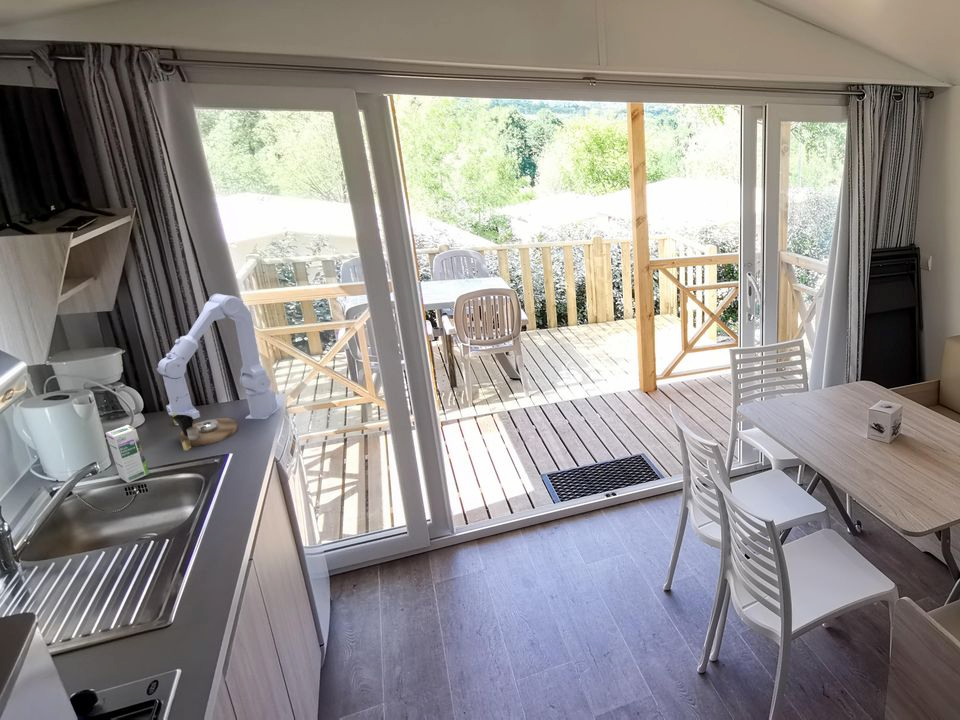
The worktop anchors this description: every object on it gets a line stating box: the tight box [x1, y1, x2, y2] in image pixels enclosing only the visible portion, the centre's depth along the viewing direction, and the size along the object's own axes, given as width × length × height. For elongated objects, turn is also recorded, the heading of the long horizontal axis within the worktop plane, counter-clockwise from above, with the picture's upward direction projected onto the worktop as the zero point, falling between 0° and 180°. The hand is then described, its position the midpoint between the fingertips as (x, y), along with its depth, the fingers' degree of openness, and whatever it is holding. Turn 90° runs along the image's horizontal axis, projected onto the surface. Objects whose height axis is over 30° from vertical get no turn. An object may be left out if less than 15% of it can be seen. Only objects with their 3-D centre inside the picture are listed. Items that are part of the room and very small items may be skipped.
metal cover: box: [197, 419, 219, 433], centre depth 175 cm, size 6×6×2 cm
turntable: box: [178, 417, 238, 447], centre depth 175 cm, size 17×17×5 cm
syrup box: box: [105, 424, 150, 484], centre depth 150 cm, size 6×6×14 cm
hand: (189, 434), depth 170 cm, fingers closed
